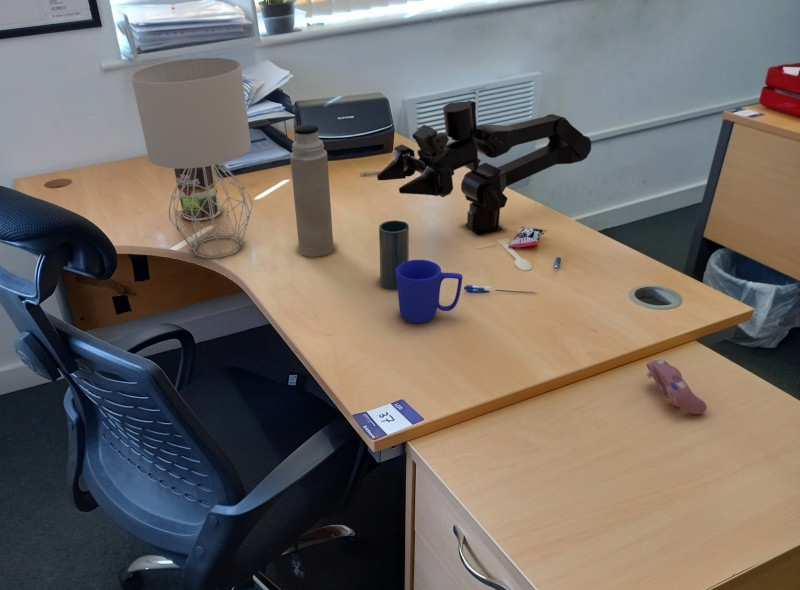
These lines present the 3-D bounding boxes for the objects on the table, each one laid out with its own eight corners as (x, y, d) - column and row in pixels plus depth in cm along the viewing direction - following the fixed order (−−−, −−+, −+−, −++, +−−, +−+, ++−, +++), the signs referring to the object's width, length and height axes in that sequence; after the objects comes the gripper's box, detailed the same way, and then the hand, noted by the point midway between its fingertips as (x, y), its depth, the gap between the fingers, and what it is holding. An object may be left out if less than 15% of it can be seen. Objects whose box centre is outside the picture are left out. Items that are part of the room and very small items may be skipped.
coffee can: (209, 222, 175) (200, 169, 167) (175, 219, 179) (164, 166, 171) (228, 207, 183) (220, 155, 175) (195, 204, 187) (186, 153, 179)
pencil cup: (401, 273, 145) (401, 218, 138) (413, 285, 141) (413, 228, 133) (376, 279, 144) (374, 223, 137) (387, 291, 139) (386, 234, 132)
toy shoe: (649, 387, 110) (637, 358, 107) (676, 374, 109) (665, 344, 106) (680, 426, 102) (669, 396, 99) (710, 413, 101) (700, 381, 98)
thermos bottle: (308, 240, 162) (297, 120, 147) (338, 244, 159) (331, 122, 143) (293, 254, 157) (280, 131, 141) (324, 258, 154) (315, 133, 138)
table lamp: (187, 278, 150) (148, 89, 128) (158, 243, 167) (119, 70, 144) (279, 252, 158) (257, 68, 135) (242, 220, 175) (218, 53, 152)
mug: (459, 329, 126) (462, 281, 120) (393, 326, 128) (393, 279, 122) (460, 307, 132) (463, 260, 127) (398, 304, 135) (398, 258, 129)
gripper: (422, 111, 149) (360, 136, 146) (473, 131, 135) (405, 160, 131) (428, 159, 156) (369, 184, 153) (477, 183, 142) (413, 211, 138)
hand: (388, 184), depth 144 cm, fingers open, 9 cm apart
